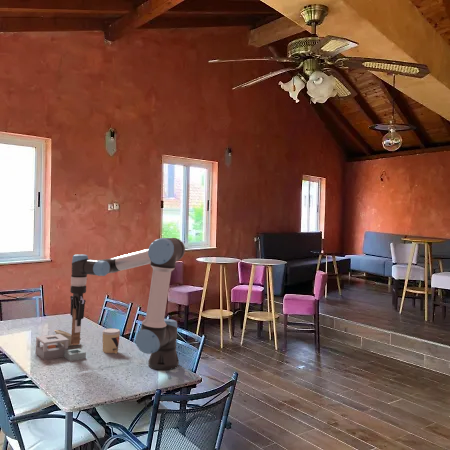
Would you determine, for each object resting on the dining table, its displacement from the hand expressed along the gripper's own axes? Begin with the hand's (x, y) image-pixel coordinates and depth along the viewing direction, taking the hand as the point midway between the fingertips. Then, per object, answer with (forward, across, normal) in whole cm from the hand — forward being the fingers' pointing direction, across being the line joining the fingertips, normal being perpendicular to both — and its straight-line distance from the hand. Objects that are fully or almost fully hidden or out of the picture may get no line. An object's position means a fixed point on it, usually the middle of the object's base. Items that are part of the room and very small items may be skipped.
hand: (76, 331), depth 218 cm
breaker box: (+14, +10, +8) cm, 19 cm away
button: (+14, +10, +8) cm, 19 cm away
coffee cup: (+14, +1, -20) cm, 25 cm away
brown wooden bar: (+7, 0, 0) cm, 7 cm away
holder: (+14, 0, 0) cm, 14 cm away
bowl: (+15, +23, -5) cm, 28 cm away
